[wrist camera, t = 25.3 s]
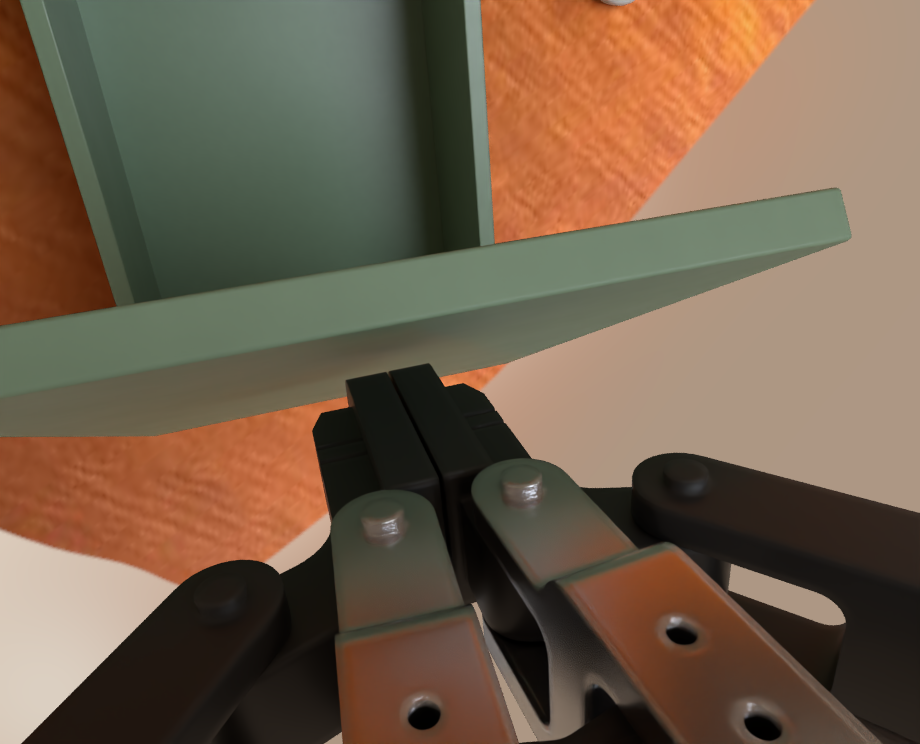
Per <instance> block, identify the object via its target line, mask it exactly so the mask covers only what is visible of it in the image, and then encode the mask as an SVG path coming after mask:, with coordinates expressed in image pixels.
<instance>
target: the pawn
mask: <svg viewBox="0 0 920 744" xmlns="http://www.w3.org/2000/svg"><path fill="white" fill-rule="evenodd" d="M601 1H602V2H603V3H606V4H609V5H615V6H622V5H626V4H629V3H632V2H633V1H634V0H601Z"/></svg>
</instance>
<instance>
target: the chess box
mask: <svg viewBox="0 0 920 744" xmlns="http://www.w3.org/2000/svg"><path fill="white" fill-rule="evenodd" d="M20 3H21V6H22V9H23V12H24V16H25V19H26V22H27V25H28V28H29V31H30V35H31V38H32V41H33V44H34V47H35V50H36V54H37V57H38V60H39V63H40V66H41V69H42V72H43V76H44V79H45V82H46V85H47V88H48V91H49V95H50V98H51V101H52V104H53V107H54V110H55V114H56V117H57V120H58V123H59V126H60V129H61V132H62V136H63V139H64V142H65V145H66V148H67V151H68V155H69V158H70V161H71V164H72V167H73V170H74V174H75V177H76V180H77V183H78V186H79V189H80V193H81V196H82V199H83V202H84V205H85V208H86V211H87V215H88V218H89V221H90V224H91V227H92V230H93V234H94V237H95V240H96V243H97V246H98V249H99V253H100V256H101V259H102V262H103V265H104V268H105V271H106V275H107V278H108V281H109V284H110V287H111V290H112V294H113V297H114V300H115V303H116V306H123V305H129V304H135V303H141V302H147V301H153V300H159V299H165V298H171V297H177V296H183V295H189V294H195V293H201V292H207V291H213V290H219V289H225V288H231V287H237V286H243V285H249V284H256V283H262V282H268V281H274V280H280V279H286V278H292V277H298V276H304V275H310V274H316V273H322V272H328V271H334V270H340V269H346V268H352V267H358V266H364V265H370V264H376V263H382V262H388V261H394V260H400V259H406V258H412V257H419V256H425V255H431V254H437V253H443V252H449V251H455V250H461V249H467V248H473V247H479V246H485V245H491V244H495V241H494V224H493V207H492V190H491V173H490V156H489V138H488V121H487V104H486V87H485V70H484V53H483V36H482V19H481V1H480V0H20Z"/></svg>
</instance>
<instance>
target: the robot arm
mask: <svg viewBox="0 0 920 744" xmlns="http://www.w3.org/2000/svg"><path fill="white" fill-rule="evenodd" d="M345 386H346V393H347V399H348V405H349V407H348V408H343V409H339V410H334V411H329V412H324V413H321V415H320V416H319V418H318V420H317V422H316V424H315V426H314V428H313V430H312V432H313V437H314V442H315V447H316V452H317V457H318V462H319V467H320V472H321V477H322V482H323V487H324V492H325V497H326V502H327V507H328V511H329V516H330V520H331V530H330V535H329V537H328V539H327V540H326V542H325V543H324V544H323V546H322V547H321V548H320V549H319V550H318V551H317V552H316V553H315V554H314V555H312V556H311V557H310V558H308V559H307V560H305V561H304V562H302V563H300V564H299V565H297V566H295V567H293V568H292V569H289V570H287V571H285V572H283V573H281V574H279V573H278V572H277V571H276V570H275V569H274V568H273V567H271V566H269V565H268V564H265V563H262V562H259V561H253V560H235V561H228V562H224V563H220V564H217V565H214V566H211V567H208V568H206V569H204V570H202V571H200V572H198V573H196V574H194V575H193V576H191V577H190V578H188V579H187V580H185V581H184V582H183V583H182V584H181V585H179V586H178V587H177V588H176V589H175V590H174V591H173V592H172V593H171V594H170V595H169V596H168V597H167V598H166V599H165V600H164V601H163V602H162V603H161V604H160V605H159V606H158V607H157V608H156V609H155V610H154V611H153V612H152V613H151V614H150V615H149V616H148V617H147V618H146V619H145V620H144V621H143V622H142V623H141V624H140V625H139V626H138V627H137V628H136V629H135V630H134V631H133V632H132V633H131V634H130V635H129V636H128V637H127V638H126V639H125V640H124V641H123V642H122V643H121V644H120V645H119V646H118V647H117V648H116V649H115V650H114V651H113V652H112V653H111V654H110V655H109V656H108V658H106V659H105V660H104V661H103V662H102V663H101V664H100V665H99V666H98V667H97V669H95V670H94V671H93V672H92V673H91V674H90V675H89V676H88V677H87V678H86V679H85V680H84V681H83V682H82V683H81V684H80V685H79V687H77V688H76V689H75V690H74V691H73V692H72V693H71V695H70V696H68V697H67V698H66V700H64V701H63V702H62V703H61V704H60V705H59V707H57V708H56V709H55V710H54V711H53V712H52V713H51V714H50V715H49V717H47V719H46V720H44V721H43V723H42V724H40V725H39V726H38V727H37V728H36V729H35V730H34V732H33V733H31V735H30V736H29V737H27V738H26V739H25V741H24V742H22V743H21V744H324V743H326V742H327V741H329V740H330V739H331V738H333V737H334V736H336V735H338V734H339V733H341V732H342V739H343V744H920V513H917V512H913V511H909V510H906V509H902V508H898V507H894V506H890V505H887V504H882V503H879V502H875V501H871V500H868V499H864V498H860V497H856V496H852V495H848V494H845V493H841V492H837V491H833V490H829V489H826V488H822V487H818V486H814V485H810V484H807V483H803V482H799V481H795V480H791V479H788V478H784V477H780V476H776V475H772V474H768V473H765V472H761V471H757V470H753V469H749V468H746V467H742V466H738V465H734V464H730V463H727V462H722V461H718V460H715V459H711V458H708V457H704V456H699V455H695V454H687V453H667V454H661V455H657V456H653V457H650V458H648V459H646V460H644V461H643V462H641V463H640V464H639V465H638V466H637V467H636V468H635V470H634V472H633V476H632V487H621V488H583V487H579V486H578V485H577V484H576V483H575V482H574V481H573V480H572V479H571V478H570V476H569V475H568V474H566V473H565V472H564V471H563V470H562V469H561V468H559V467H557V466H556V465H554V464H551V463H549V462H546V461H542V460H536V459H532V458H531V457H530V456H529V454H528V453H527V451H526V450H525V449H524V447H523V446H522V445H521V443H520V442H519V441H518V439H517V438H516V437H515V435H514V434H513V432H512V431H511V430H510V429H509V427H508V426H507V425H506V424H505V423H504V422H503V419H502V418H501V416H500V415H499V413H498V412H497V411H495V409H494V407H493V405H492V404H491V403H490V401H489V400H488V399H487V397H486V396H485V394H484V393H482V392H480V391H478V390H476V389H474V388H472V387H470V386H468V385H466V384H464V383H462V384H457V385H452V386H447V387H445V386H444V385H443V383H442V382H441V380H440V378H439V377H438V375H437V374H436V372H435V371H434V369H433V367H432V366H431V365H430V364H429V363H426V364H421V365H416V366H411V367H406V368H401V369H396V370H391V371H389V372H388V374H387V372H382V373H377V374H372V375H367V376H362V377H357V378H352V379H347V380H345ZM731 564H734V565H737V566H740V567H743V568H746V569H749V570H752V571H755V572H758V573H761V574H764V575H767V576H769V577H772V578H775V579H778V580H781V581H784V582H787V583H790V584H793V585H796V586H799V587H802V588H805V589H808V590H811V591H814V592H817V593H819V594H822V595H824V596H825V597H827V598H829V599H830V600H832V601H833V602H834V603H835V604H836V605H837V606H838V607H839V608H840V609H841V611H842V612H843V614H844V617H845V619H846V623H844V624H841V625H834V626H833V625H824V624H821V623H818V622H815V621H812V620H809V619H806V618H804V617H801V616H798V615H795V614H793V613H790V612H787V611H784V610H781V609H779V608H776V607H773V606H770V605H767V604H765V603H762V602H759V601H756V600H754V599H751V598H748V597H745V596H743V595H740V594H737V593H734V592H731V591H729V590H728V586H729V578H730V568H731ZM474 602H477V603H478V606H479V608H480V610H481V612H482V617H483V628H484V635H483V632H482V630H481V626H480V623H479V620H478V617H477V615H476V612H475V610H474V607H473V606H472V604H471V603H474ZM489 652H490V653H489ZM490 654H491V655H492V657H493V659H494V661H495V663H496V665H497V666H498V668H499V670H500V672H501V674H502V676H503V677H504V679H505V681H506V683H507V685H508V687H509V688H510V690H511V692H512V694H513V696H514V697H515V699H516V701H517V703H518V705H519V707H520V709H521V710H522V712H523V714H524V716H525V718H526V719H527V721H528V723H529V725H530V727H531V729H532V731H533V733H534V734H535V736H536V738H537V740H538V741H537V742H524V743H519V742H518V739H517V736H516V733H515V729H514V726H513V724H512V720H511V718H510V715H509V711H508V709H507V705H506V702H505V699H504V696H503V693H502V690H501V687H500V684H499V681H498V678H497V675H496V672H495V669H494V666H493V663H492V660H491V657H490Z"/></svg>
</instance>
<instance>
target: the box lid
mask: <svg viewBox="0 0 920 744" xmlns="http://www.w3.org/2000/svg"><path fill="white" fill-rule="evenodd" d="M850 238H851V231H850V227H849V223H848V218H847V215H846V210H845V206H844V202H843V198H842V194H841V190H840V189H839V188H829V189H823V190H817V191H811V192H805V193H799V194H793V195H787V196H781V197H775V198H769V199H763V200H757V201H751V202H745V203H739V204H732V205H726V206H721V207H714V208H708V209H702V210H697V211H690V212H685V213H678V214H672V215H666V216H661V217H654V218H648V219H642V220H636V221H630V222H624V223H618V224H612V225H606V226H600V227H594V228H588V229H582V230H575V231H569V232H563V233H557V234H551V235H545V236H539V237H533V238H527V239H521V240H515V241H509V242H503V243H497V244H491V245H485V246H479V247H473V248H467V249H461V250H455V251H449V252H443V253H437V254H431V255H425V256H419V257H412V258H406V259H400V260H394V261H388V262H382V263H376V264H370V265H364V266H358V267H352V268H346V269H340V270H334V271H328V272H322V273H316V274H310V275H304V276H298V277H292V278H286V279H280V280H274V281H268V282H262V283H256V284H249V285H243V286H237V287H231V288H225V289H219V290H213V291H207V292H201V293H195V294H189V295H183V296H177V297H171V298H165V299H159V300H153V301H147V302H141V303H135V304H129V305H123V306H117V307H111V308H105V309H99V310H92V311H86V312H80V313H74V314H68V315H62V316H56V317H50V318H44V319H38V320H32V321H26V322H20V323H14V324H8V325H2V326H0V437H89V436H158V435H163V434H168V433H173V432H177V431H182V430H187V429H192V428H197V427H202V426H206V425H211V424H216V423H221V422H226V421H231V420H235V419H240V418H245V417H250V416H255V415H259V414H264V413H269V412H274V411H279V410H284V409H288V408H293V407H298V406H303V405H308V404H313V403H317V402H322V401H327V400H332V399H337V398H342V397H346V396H347V393H346V386H345V380H347V379H352V378H357V377H362V376H367V375H372V374H377V373H382V372H387V374H388V372H389V371H391V370H396V369H401V368H406V367H411V366H416V365H421V364H426V363H429V364H430V365H431V366H432V367H433V369H434V371H435V372H436V374H437V375H438V377H443V376H448V375H453V374H457V373H462V372H467V371H472V370H477V369H482V368H486V367H491V366H496V365H501V364H506V363H509V362H511V361H514V360H517V359H520V358H523V357H525V356H528V355H531V354H534V353H537V352H539V351H542V350H545V349H548V348H550V347H553V346H556V345H559V344H562V343H564V342H567V341H570V340H573V339H576V338H578V337H581V336H584V335H587V334H589V333H592V332H595V331H598V330H601V329H603V328H606V327H609V326H612V325H615V324H617V323H620V322H623V321H625V320H628V319H631V318H634V317H637V316H640V315H642V314H645V313H648V312H651V311H653V310H656V309H659V308H662V307H665V306H667V305H670V304H673V303H676V302H678V301H681V300H684V299H687V298H690V297H692V296H695V295H698V294H701V293H703V292H706V291H709V290H712V289H714V288H718V287H720V286H723V285H726V284H729V283H731V282H734V281H737V280H740V279H743V278H745V277H748V276H751V275H754V274H756V273H759V272H762V271H765V270H768V269H770V268H773V267H776V266H779V265H782V264H784V263H787V262H790V261H793V260H796V259H798V258H801V257H804V256H807V255H809V254H812V253H815V252H818V251H820V250H823V249H826V248H829V247H832V246H835V245H837V244H840V243H843V242H846V241H848V240H849V239H850Z"/></svg>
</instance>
